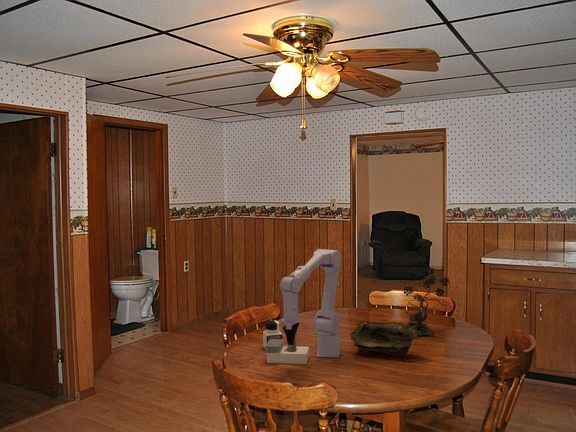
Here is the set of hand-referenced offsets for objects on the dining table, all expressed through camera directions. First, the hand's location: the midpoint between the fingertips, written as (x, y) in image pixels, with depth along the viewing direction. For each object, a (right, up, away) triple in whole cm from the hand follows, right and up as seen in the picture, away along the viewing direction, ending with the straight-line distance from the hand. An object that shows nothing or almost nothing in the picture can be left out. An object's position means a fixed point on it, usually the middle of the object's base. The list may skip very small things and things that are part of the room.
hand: (291, 343), depth 196 cm
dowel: (0, -3, 0) cm, 3 cm away
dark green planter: (+39, -9, +16) cm, 43 cm away
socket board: (-1, -10, +11) cm, 15 cm away
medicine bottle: (-8, -9, +27) cm, 30 cm away
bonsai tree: (+65, -7, +52) cm, 84 cm away
